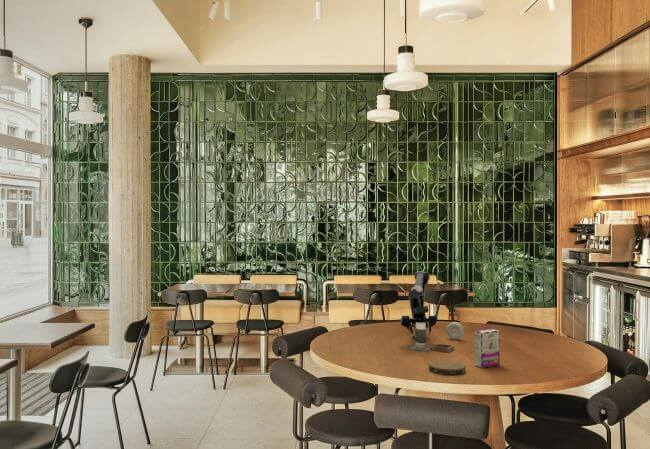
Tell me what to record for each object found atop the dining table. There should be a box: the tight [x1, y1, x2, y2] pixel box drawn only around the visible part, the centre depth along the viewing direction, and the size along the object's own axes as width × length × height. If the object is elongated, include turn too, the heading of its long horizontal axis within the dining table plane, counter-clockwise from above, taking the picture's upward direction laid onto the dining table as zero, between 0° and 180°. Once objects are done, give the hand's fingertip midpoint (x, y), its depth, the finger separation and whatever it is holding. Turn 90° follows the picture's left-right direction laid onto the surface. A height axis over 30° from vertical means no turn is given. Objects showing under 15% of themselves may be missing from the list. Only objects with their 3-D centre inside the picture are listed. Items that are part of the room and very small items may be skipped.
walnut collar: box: [431, 343, 455, 354], centre depth 298 cm, size 9×9×2 cm
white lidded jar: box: [414, 322, 427, 349], centre depth 300 cm, size 6×6×13 cm
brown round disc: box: [428, 359, 466, 376], centre depth 256 cm, size 16×16×3 cm
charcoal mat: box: [407, 344, 432, 353], centre depth 300 cm, size 10×10×1 cm
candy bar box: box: [474, 328, 501, 369], centre depth 265 cm, size 11×5×16 cm, turn 117°
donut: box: [445, 321, 465, 340], centre depth 325 cm, size 10×4×10 cm, turn 64°
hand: (421, 333), depth 298 cm, fingers open, 9 cm apart
